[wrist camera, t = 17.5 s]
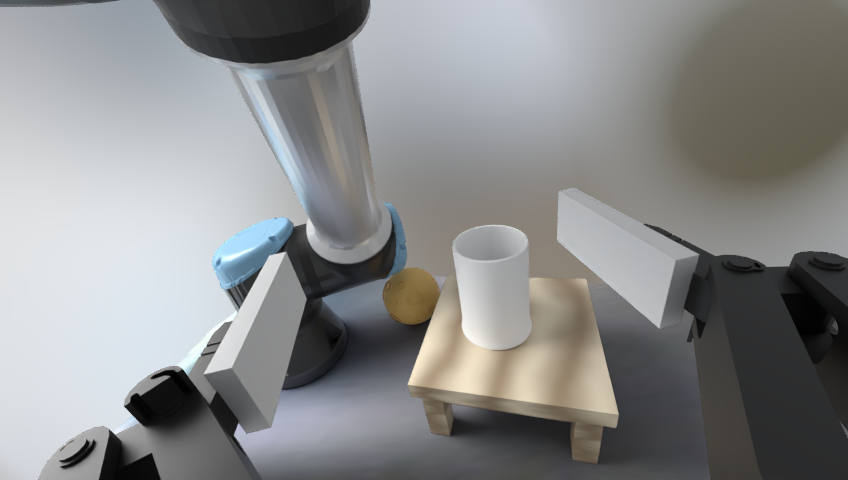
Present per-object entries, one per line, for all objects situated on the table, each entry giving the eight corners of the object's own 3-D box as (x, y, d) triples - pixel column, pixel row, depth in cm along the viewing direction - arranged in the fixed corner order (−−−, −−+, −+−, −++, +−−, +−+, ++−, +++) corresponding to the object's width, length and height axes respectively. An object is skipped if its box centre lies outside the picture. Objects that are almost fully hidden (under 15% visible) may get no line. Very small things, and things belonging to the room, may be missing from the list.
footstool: (423, 437, 39) (407, 384, 35) (454, 322, 56) (446, 275, 51) (607, 474, 33) (618, 414, 28) (581, 331, 49) (585, 279, 45)
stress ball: (423, 300, 64) (378, 280, 61) (450, 270, 59) (402, 247, 56) (420, 343, 56) (368, 323, 54) (451, 313, 51) (395, 290, 48)
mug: (506, 282, 47) (501, 207, 41) (560, 307, 41) (564, 223, 35) (448, 326, 41) (433, 246, 35) (501, 364, 35) (494, 274, 29)
